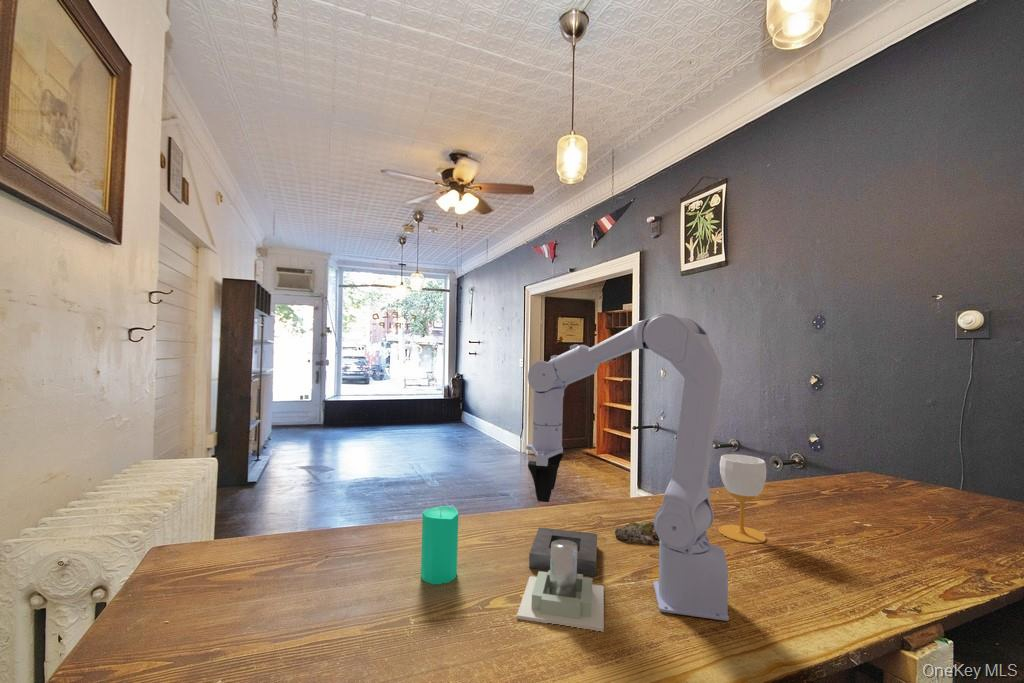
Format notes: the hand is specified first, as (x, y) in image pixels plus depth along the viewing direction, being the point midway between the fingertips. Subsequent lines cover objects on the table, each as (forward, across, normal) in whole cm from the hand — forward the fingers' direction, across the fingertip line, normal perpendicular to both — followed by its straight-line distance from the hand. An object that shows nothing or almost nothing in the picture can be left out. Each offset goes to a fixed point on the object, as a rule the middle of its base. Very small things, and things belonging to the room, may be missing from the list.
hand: (546, 494), depth 83 cm
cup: (+11, -18, +40) cm, 45 cm away
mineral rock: (+11, -11, +18) cm, 24 cm away
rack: (+10, +17, +5) cm, 21 cm away
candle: (+11, +14, -16) cm, 24 cm away
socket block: (+10, +2, +4) cm, 11 cm away
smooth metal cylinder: (+10, +17, +5) cm, 20 cm away
